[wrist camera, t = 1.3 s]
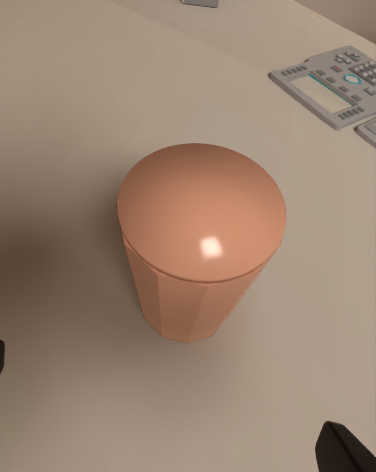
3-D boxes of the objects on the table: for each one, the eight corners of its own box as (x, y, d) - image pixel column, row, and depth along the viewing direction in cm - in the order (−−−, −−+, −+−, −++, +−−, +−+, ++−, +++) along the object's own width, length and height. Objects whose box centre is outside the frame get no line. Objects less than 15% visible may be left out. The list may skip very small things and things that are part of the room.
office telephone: (483, 112, 37) (396, 157, 31) (465, 128, 39) (380, 173, 33) (354, 36, 47) (267, 59, 40) (345, 52, 49) (261, 76, 42)
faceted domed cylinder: (187, 363, 20) (212, 321, 9) (122, 295, 22) (80, 197, 11) (247, 294, 23) (317, 201, 12) (184, 241, 25) (196, 124, 15)
